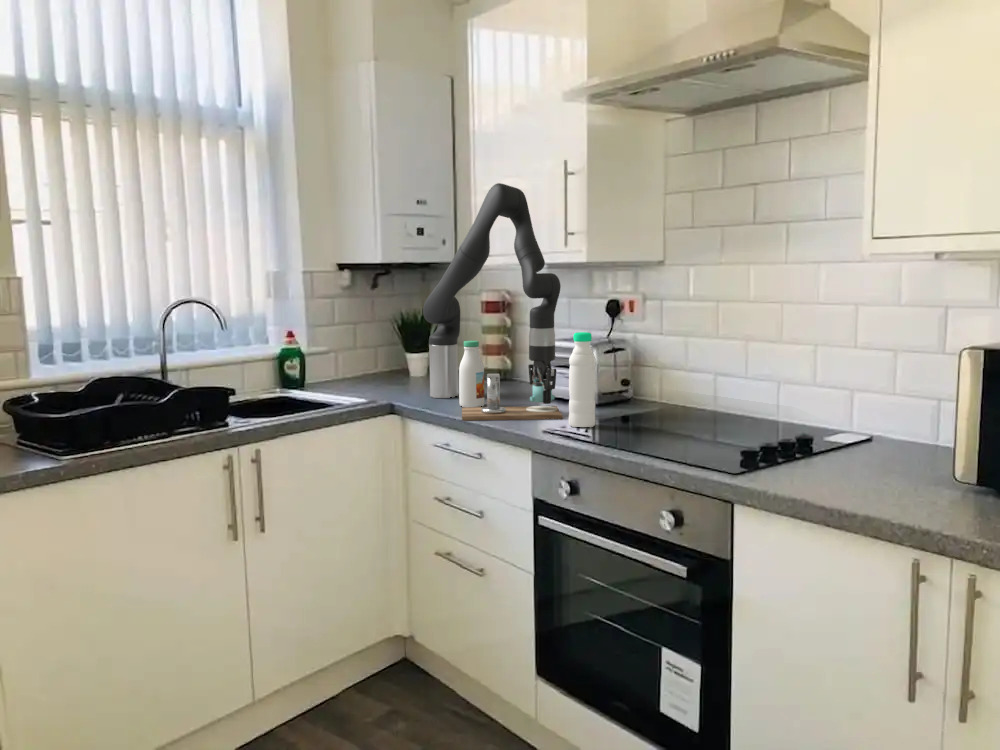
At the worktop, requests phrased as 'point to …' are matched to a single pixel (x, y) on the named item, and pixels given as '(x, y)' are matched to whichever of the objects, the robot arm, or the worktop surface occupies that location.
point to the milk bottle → (471, 377)
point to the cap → (538, 393)
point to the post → (493, 396)
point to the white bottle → (582, 382)
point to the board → (513, 413)
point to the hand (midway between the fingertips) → (542, 401)
